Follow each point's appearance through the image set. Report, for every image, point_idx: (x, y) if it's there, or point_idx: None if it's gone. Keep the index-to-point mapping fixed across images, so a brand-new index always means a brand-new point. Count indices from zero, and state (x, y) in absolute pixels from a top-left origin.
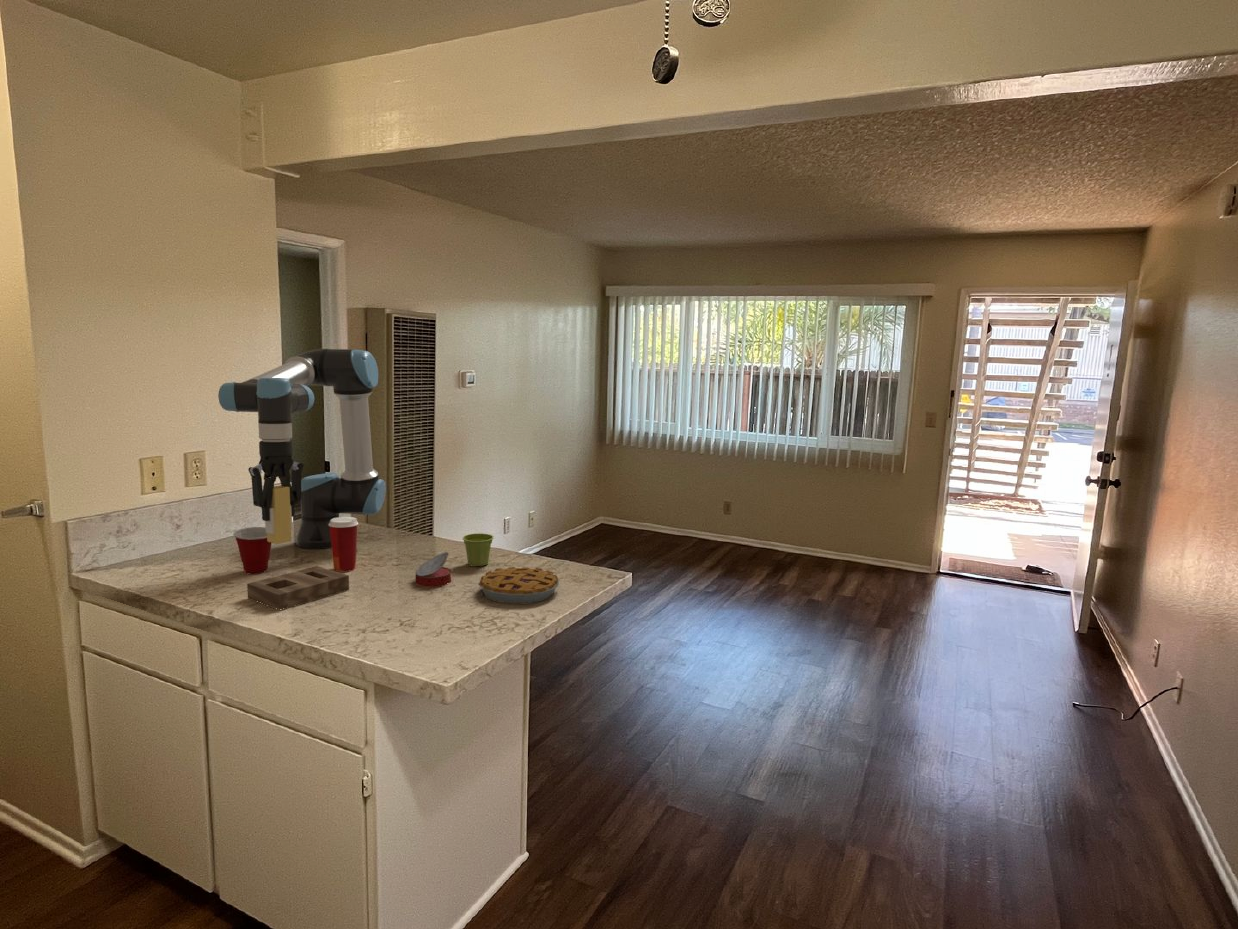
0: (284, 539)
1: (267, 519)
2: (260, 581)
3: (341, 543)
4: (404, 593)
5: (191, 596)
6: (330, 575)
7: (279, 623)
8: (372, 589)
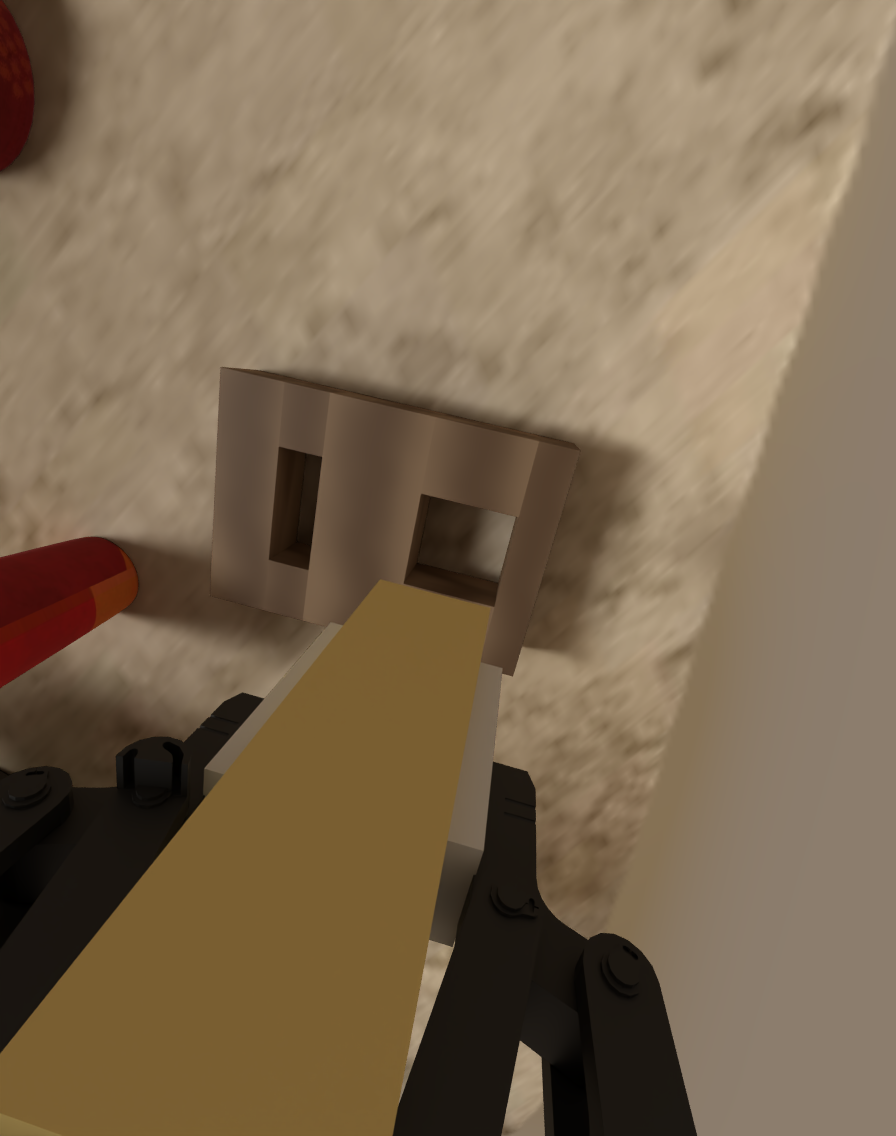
0: (426, 600)
1: (513, 778)
2: None
3: (23, 599)
4: (150, 72)
5: (570, 811)
6: (265, 447)
7: (705, 319)
8: (198, 276)
